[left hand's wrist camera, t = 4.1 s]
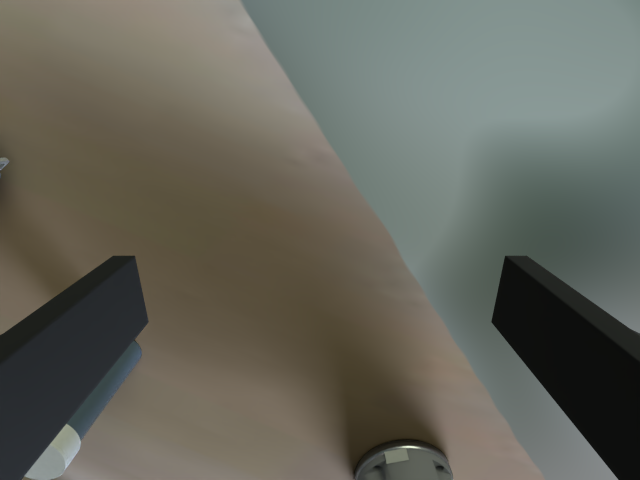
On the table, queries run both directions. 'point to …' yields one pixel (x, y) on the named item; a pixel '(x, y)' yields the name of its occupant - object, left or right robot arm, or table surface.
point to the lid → (56, 455)
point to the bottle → (105, 391)
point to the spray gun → (3, 163)
